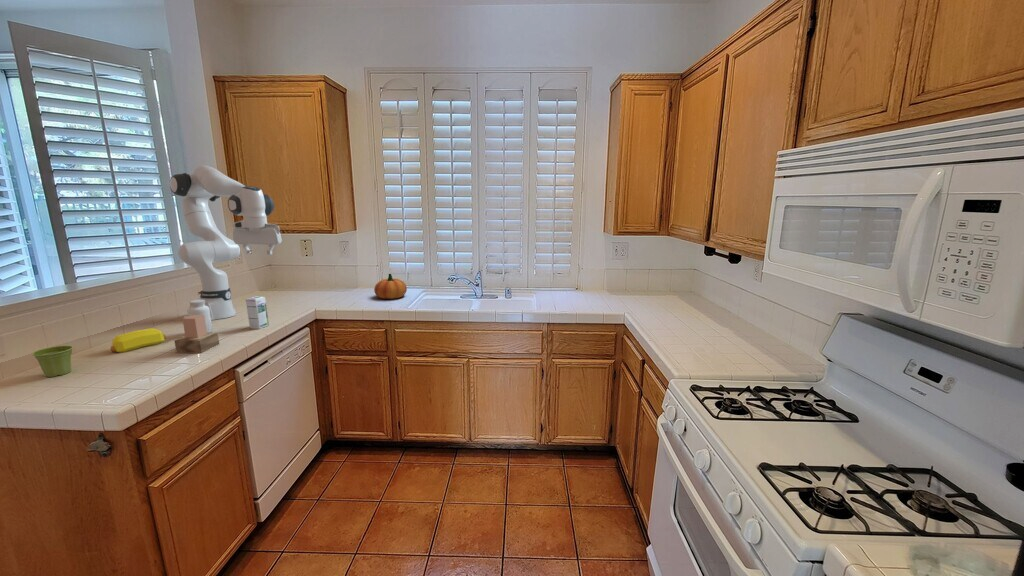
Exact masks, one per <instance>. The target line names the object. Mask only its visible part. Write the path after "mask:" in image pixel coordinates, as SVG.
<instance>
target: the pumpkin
mask: <svg viewBox="0 0 1024 576" xmlns="http://www.w3.org/2000/svg"><path fill="white" fill-rule="evenodd" d="M407 290H408V286H407V284H406V283H405V282H404V281H403V280H401V279H399V278H393V276H392V273H388V278H383V279H381V280H379V281H378V282H377V283H376V284H375V286H374V289H373V292H374V294H375V295H376V297H377V298H380V299H383V300H393V299H399V298H402V297H404V296H405V295H406V293H407Z"/></svg>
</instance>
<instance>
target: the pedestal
mask: <svg viewBox="0 0 1024 576" xmlns="http://www.w3.org/2000/svg"><path fill="white" fill-rule="evenodd" d="M218 344H219V345H220V340H219V333H218V332H210V333H207V334H206V335H204V336H201V337H199V338H186V337H185V335H184V336H182V337H180V338H177V339H175V340H174V345H175V346H174V347H175V352H176V353H179V354H180V353H183V354H184V353H185V354H189V353H190V354H192V353H193V354H194V353H200V354H202V353H204V352H206V351H208V350H210V348H211V349H213V348H214V346H215V347H216V345H217V346H219V345H218ZM212 347H213V348H212Z"/></svg>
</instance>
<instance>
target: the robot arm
mask: <svg viewBox="0 0 1024 576" xmlns="http://www.w3.org/2000/svg"><path fill="white" fill-rule="evenodd" d="M169 187H170V190H171V192H172V193H173V195H176V196H180V197H183V199H182V200H181V202H182V203H181V204H182V212H183V215H184V219H185V222H186V224H187V228H188V231H189V232H190V233H191V234H192V235H193V236H196V237H198V238H201V239H202V240H203V241H202V240H200V241H190V242H186V243H182V244H181V245H180V246H179V248H178V251H177V252H178V253H177V254H178V258H179V259H180V260H181V262H183V263H184V264H186V265H189V266H190V267H191V268H193V269H194V270H195V271H196V273H197V274H198V276H199V279H200V282H201V287H202V290H200V291H198V292H197V295H198V296H199V295H200V296H199V298H198V299H197V300H205V306H208V307H209V310H210V317H211V321H214V320H215V321H216V320H221V319H226V318H230V317H234V316H237V312H236V310H235V307H234V305H233V301H232V291H231V288H230V284H229V278H228V274H227V272H226V271H224V270H223V269H219V268H216V267H214V266H213V263H220V262H229V261H232V260H236V259H238V258H239V256H240V254H241V248H240V245H242V248H243V249H244V250H245V252H246V255H251V254H253V250H252V249H250V247H249V246H250V245H268V250H266V254H267V255H273V250H274V248H275V246H276V245H281V244H282V242H283V239H282V235H281V229H280V226H279V225H278V224H276V223H268V219H267V217H268V216H270V215H271V214H273V212H274V210H275V202H274V200H273V199H272V198H271V196H270V195H268V194H266V193H265V194H264V193H263V190H262V188H260V187H257V186H248V185H246V184H244V183H242V182H239V181H237V180H235V179H233V178H231V177H229V176H227V175H225V174H224V173H222V172H221V171H220V170H218V169H216V168H215V167H212V166H210V165H207V164H203V165H202V164H201V165H198V166H196V167H195V168H194V170H193V173H191V174H190V173H189V174H188V173H186V172H184V173H176V174H173V175H172V176H171V177H170V179H169ZM221 197H222V198H223V197H224V198H228V200H227V207H228V210H229V212H231V213H232V214H233V215H234V216H238V217H239V216H242V217H243V219H242V220H240V221H235V222H233V223H232V227H233V231H232V238H233V239H230V238H229V237H227V236H225V234H223V232H221V231H220V230H219V229H218V226H217V225H216V222H215V219H214V218H213V213H212V212H211V209H210V207H209V206H210V205H209V201H211V202H216V200H217V199H219V198H221ZM190 307H191V306H190V305H189V307H188V308H190ZM185 317H188V314H186V315H184V316H183V318H185Z"/></svg>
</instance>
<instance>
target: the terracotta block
mask: <svg viewBox="0 0 1024 576" xmlns="http://www.w3.org/2000/svg"><path fill="white" fill-rule="evenodd" d="M182 324H183V332H184V336H185V337H186V338H199V337H201V336H204V335H206V334H207V329H206V323H205V316H204V315H191V316H188V317H185V318H184V317H183V318H182Z"/></svg>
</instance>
